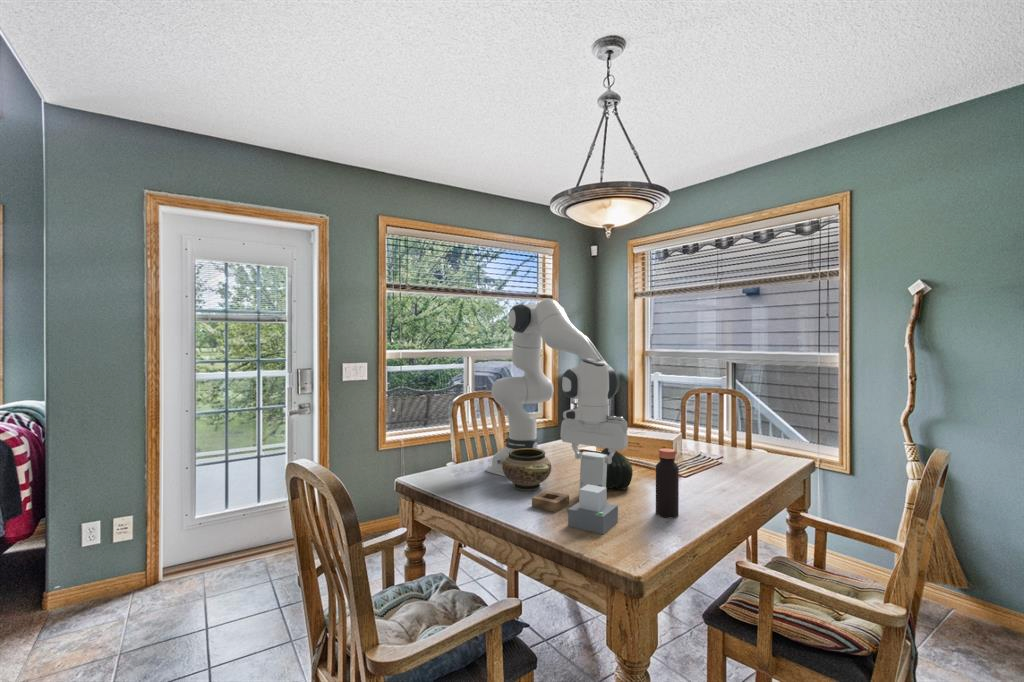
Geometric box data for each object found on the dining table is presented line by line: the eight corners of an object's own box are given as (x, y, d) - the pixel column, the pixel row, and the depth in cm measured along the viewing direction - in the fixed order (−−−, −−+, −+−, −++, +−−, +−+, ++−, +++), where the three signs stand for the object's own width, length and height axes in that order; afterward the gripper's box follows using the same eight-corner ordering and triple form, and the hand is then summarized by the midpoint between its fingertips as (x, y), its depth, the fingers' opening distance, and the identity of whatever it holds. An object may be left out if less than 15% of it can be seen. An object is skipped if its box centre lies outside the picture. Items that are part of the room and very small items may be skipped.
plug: (579, 523, 144) (579, 489, 144) (587, 517, 149) (587, 484, 149) (598, 527, 141) (598, 492, 141) (606, 521, 146) (606, 487, 146)
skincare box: (579, 497, 169) (579, 454, 168) (583, 492, 174) (584, 450, 174) (603, 501, 165) (603, 456, 165) (607, 495, 171) (607, 453, 170)
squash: (629, 481, 169) (630, 443, 178) (586, 479, 174) (589, 441, 183) (633, 499, 179) (634, 461, 188) (592, 496, 184) (595, 460, 193)
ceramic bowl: (498, 486, 189) (488, 450, 188) (537, 470, 196) (529, 435, 194) (524, 507, 167) (514, 466, 165) (568, 488, 174) (559, 448, 172)
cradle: (531, 507, 159) (531, 497, 159) (545, 499, 167) (545, 490, 167) (556, 512, 154) (556, 502, 154) (569, 504, 162) (569, 495, 162)
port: (568, 526, 143) (568, 507, 143) (583, 514, 152) (584, 497, 152) (603, 534, 137) (603, 515, 137) (617, 521, 146) (617, 503, 146)
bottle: (660, 508, 158) (661, 446, 157) (681, 513, 153) (682, 449, 153) (652, 514, 152) (652, 450, 152) (673, 519, 148) (673, 453, 148)
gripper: (631, 416, 141) (631, 463, 142) (567, 409, 153) (567, 453, 153) (623, 419, 136) (623, 468, 136) (558, 412, 147) (557, 458, 148)
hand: (593, 460), depth 145 cm, fingers open, 8 cm apart
